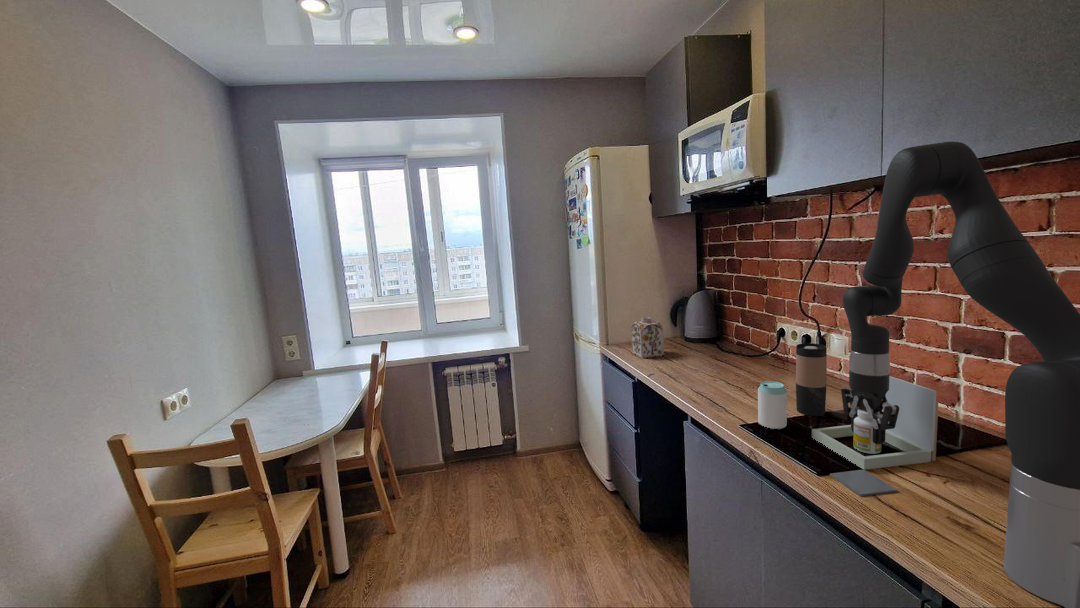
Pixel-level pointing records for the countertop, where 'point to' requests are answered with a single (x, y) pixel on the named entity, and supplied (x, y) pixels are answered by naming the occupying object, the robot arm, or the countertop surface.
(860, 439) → the supplement bottle
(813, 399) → the travel mug
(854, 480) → the slate coaster
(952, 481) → the countertop surface
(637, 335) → the decorative jar
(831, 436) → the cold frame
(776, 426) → the can
